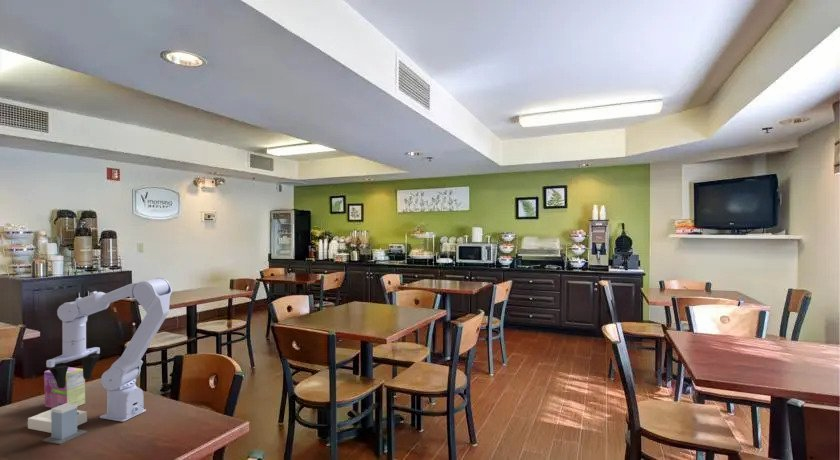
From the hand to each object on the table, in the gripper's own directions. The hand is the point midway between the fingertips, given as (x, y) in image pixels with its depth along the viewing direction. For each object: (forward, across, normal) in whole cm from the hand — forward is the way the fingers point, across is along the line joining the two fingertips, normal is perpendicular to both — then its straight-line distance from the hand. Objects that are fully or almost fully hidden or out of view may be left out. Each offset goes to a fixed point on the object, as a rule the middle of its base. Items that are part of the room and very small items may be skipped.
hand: (74, 383), depth 132 cm
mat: (+10, +11, +12) cm, 19 cm away
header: (+10, +6, +2) cm, 12 cm away
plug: (+10, +11, +12) cm, 19 cm away
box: (+10, -4, -10) cm, 15 cm away
